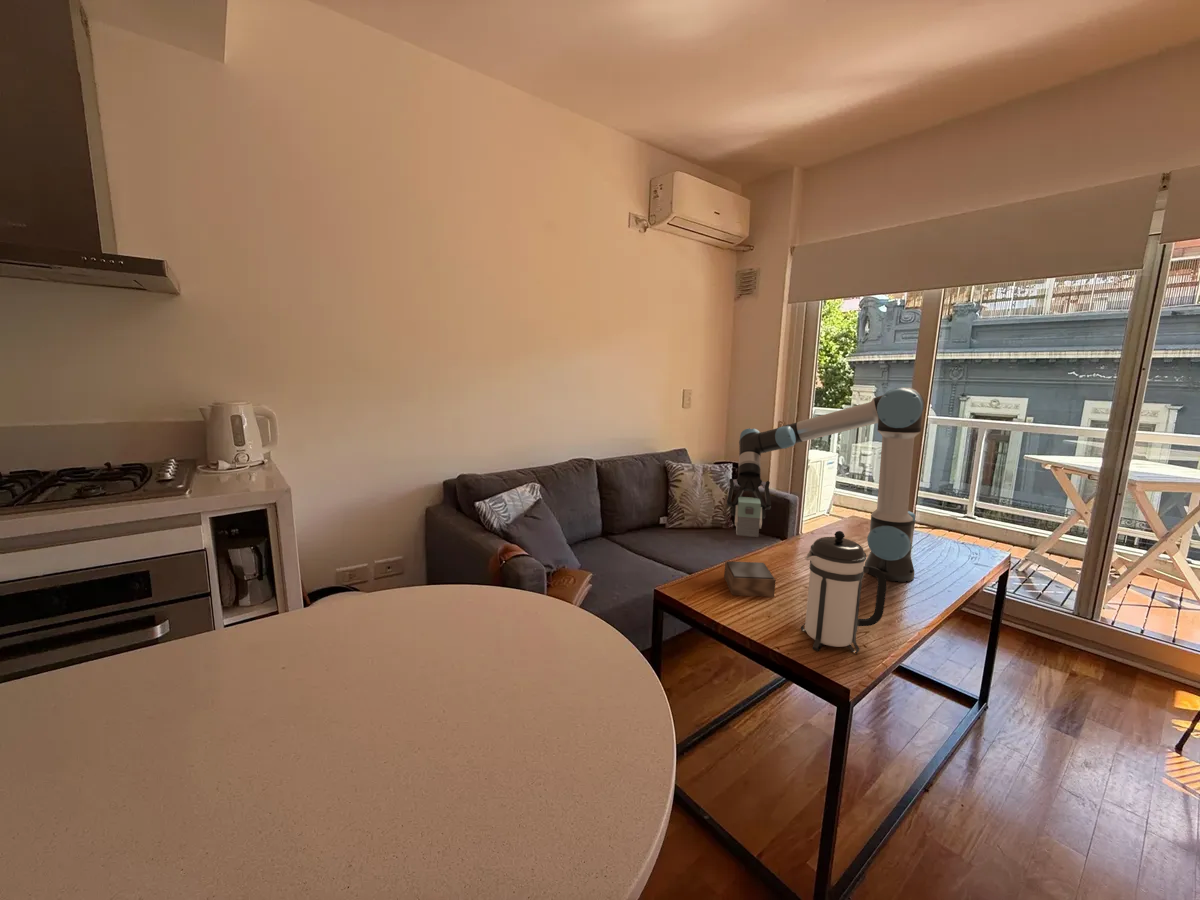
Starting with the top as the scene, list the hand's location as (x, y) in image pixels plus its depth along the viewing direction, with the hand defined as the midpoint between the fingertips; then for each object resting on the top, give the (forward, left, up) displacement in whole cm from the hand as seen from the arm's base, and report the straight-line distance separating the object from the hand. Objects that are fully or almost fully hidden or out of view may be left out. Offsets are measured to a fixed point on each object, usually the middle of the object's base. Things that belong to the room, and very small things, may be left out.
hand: (748, 525), depth 166 cm
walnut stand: (0, +7, -18) cm, 20 cm away
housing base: (-1, -4, -4) cm, 5 cm away
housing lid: (-1, -3, +3) cm, 4 cm away
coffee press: (-15, +38, -19) cm, 45 cm away
